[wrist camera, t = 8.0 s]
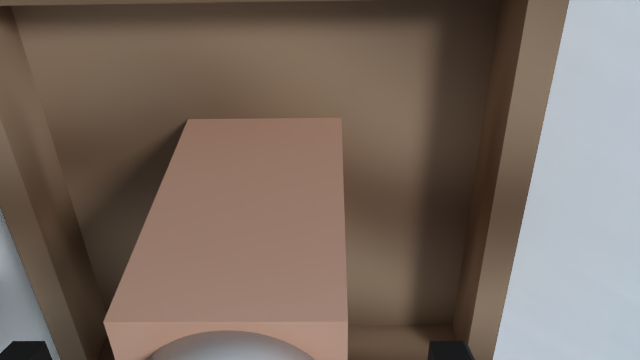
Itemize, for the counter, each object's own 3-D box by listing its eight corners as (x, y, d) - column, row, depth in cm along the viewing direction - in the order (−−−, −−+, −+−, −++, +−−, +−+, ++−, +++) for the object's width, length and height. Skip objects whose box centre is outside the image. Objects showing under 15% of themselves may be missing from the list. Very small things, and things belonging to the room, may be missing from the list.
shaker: (341, 237, 18) (347, 524, 11) (206, 238, 18) (130, 522, 11) (341, 117, 16) (350, 383, 9) (187, 119, 16) (77, 384, 9)
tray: (470, 328, 21) (486, 389, 19) (97, 329, 21) (72, 389, 19) (540, -73, 13) (578, -46, 11) (-31, -63, 14) (-96, -34, 12)
